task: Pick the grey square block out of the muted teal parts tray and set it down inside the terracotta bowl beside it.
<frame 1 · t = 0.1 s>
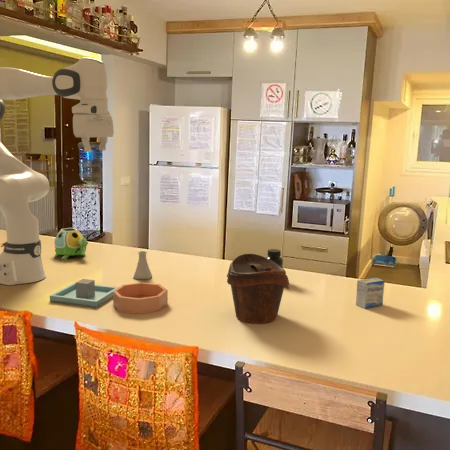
hand: (95, 151, 167), 48 cm above the table, fingers open, 8 cm apart
brown lidded bucket: (256, 316, 152), on the table
turtle holder: (72, 256, 217), on the table
grey square block: (85, 288, 165), in the parts tray
flask: (142, 277, 189), on the table
parts tray: (85, 297, 166), on the table
supplement bottle: (272, 281, 188), on the table
terracotta bowl: (140, 304, 160), on the table
medicine box: (368, 305, 164), on the table
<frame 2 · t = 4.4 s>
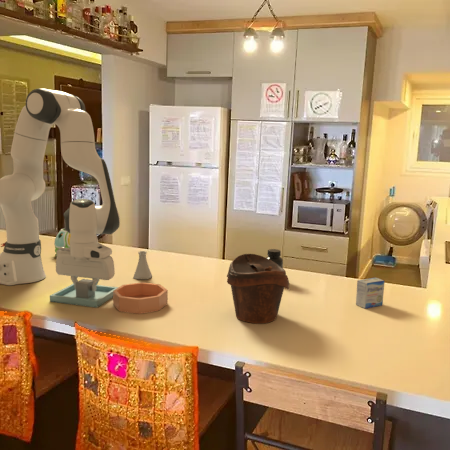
hand: (85, 289, 165), 3 cm above the table, fingers closed on grey square block, 4 cm apart
grey square block: (85, 288, 165), in the parts tray, touching gripper
everything else where it was.
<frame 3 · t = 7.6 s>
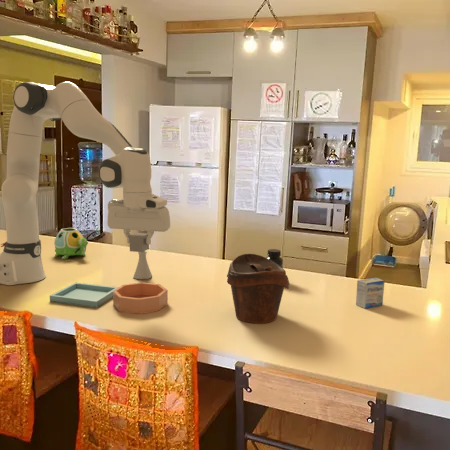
hand: (139, 243, 157), 20 cm above the table, fingers closed on grey square block, 4 cm apart
grey square block: (139, 242, 157), point 20 cm above the table, touching gripper
everything else where it was.
when the fingers open (5 cm above the table, at t = 11.2 s): grey square block drops 2 cm, resting on terracotta bowl.
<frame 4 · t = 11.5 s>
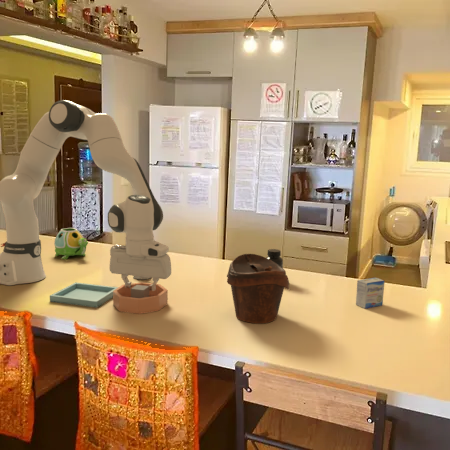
hand: (140, 288, 160), 5 cm above the table, fingers open, 7 cm apart
grey square block: (140, 294, 160), in the terracotta bowl, point 3 cm above the table
everything else where it was.
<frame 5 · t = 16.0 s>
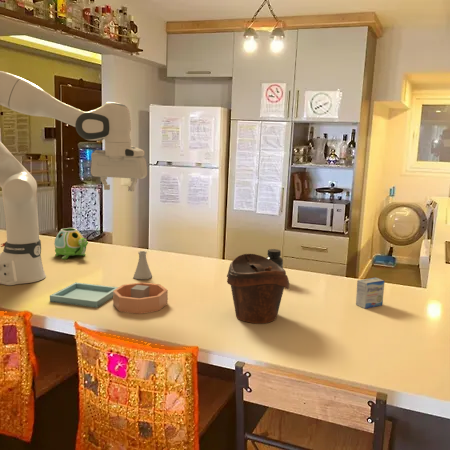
hand: (119, 190, 174), 34 cm above the table, fingers open, 8 cm apart
nothing on the table moved.
at the end: grey square block inside the target area on the terracotta bowl (0.1 cm from its centre), point 3.1 cm above the terracotta bowl's base; the gripper is holding nothing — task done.
